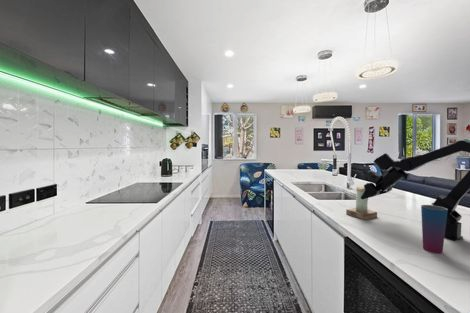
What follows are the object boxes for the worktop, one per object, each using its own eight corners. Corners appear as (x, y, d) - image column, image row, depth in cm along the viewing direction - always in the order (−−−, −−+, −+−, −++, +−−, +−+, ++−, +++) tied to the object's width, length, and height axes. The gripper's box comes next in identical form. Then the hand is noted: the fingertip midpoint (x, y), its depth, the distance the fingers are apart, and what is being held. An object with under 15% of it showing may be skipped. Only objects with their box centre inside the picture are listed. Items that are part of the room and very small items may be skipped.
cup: (419, 244, 81) (420, 203, 80) (445, 249, 77) (446, 206, 76) (419, 250, 76) (421, 207, 75) (447, 256, 71) (449, 211, 71)
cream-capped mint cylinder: (369, 212, 112) (370, 188, 112) (360, 212, 112) (360, 189, 111) (363, 209, 117) (363, 187, 117) (353, 209, 117) (354, 187, 116)
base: (377, 217, 112) (377, 212, 112) (363, 219, 108) (363, 214, 108) (359, 211, 121) (359, 207, 121) (346, 213, 117) (346, 209, 117)
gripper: (385, 164, 113) (362, 183, 123) (368, 166, 103) (345, 186, 112) (403, 181, 107) (378, 199, 116) (387, 185, 96) (361, 205, 106)
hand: (365, 197), depth 113 cm, fingers open, 9 cm apart
